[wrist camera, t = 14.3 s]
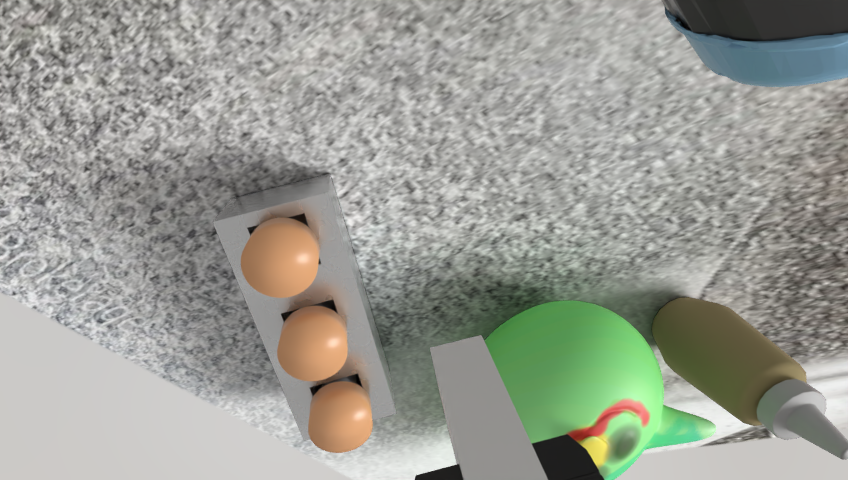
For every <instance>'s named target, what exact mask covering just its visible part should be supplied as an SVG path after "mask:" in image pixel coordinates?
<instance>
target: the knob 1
mask: <svg viewBox="0 0 848 480" xmlns="http://www.w3.org/2000/svg"><path fill="white" fill-rule="evenodd" d="M319 254H320V248H319V243H318V240H317V238H316V236H315V234H314V233H313V232H312V230H311V229H310V228H309V225H308V222H307V219H306V216H305V213H303V214H299V215H295V216H291V217H287V218H274V219H270V220H267V221H265V222H263V223H262V224H260V225H259V226H258V227H257V228H256V229H255V230H254V231H253V233H252V234H251V236H250V238H249V240H248V242H247V244H246V245H245V247H244V250H243V252H242V255H241V270H242V273H243V275H244V277H245V279H246V281H247V282H248V283H249V284H250V286H251V287H253V288H254V289H255V290H257V291H258V292H260V293H262V294H264V295H267V296H270V297H276V298H286V297H291V296H294V295H297V294H299V293H301V292H303V291H304V290H306V289H307V288H308V287H309V286H310V285H311V284H312V282H313V281H314V279H315V277H316V274H317V271H318V263H319Z"/></svg>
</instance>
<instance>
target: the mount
mask: <svg viewBox="0 0 848 480" xmlns="http://www.w3.org/2000/svg"><path fill="white" fill-rule="evenodd" d="M303 213H305V216H306V219H307V222H308V225H309V228H310V229H311V230H312V232H313V233H314V234H315V236H316V238H317V240H318V243H319V248H320V254H319V263H318V271H317V274H316V277H315V279H314V281H313V282H312V284H311V285H310V286H309V287H308V288H307V289H306V290H304V291H303V292H301V293H299V294H297V295H294V296H291V297H286V298H276V297H270V296H267V295H264V294H262V293H260V292H258V291H257V290H255V289H254V288H253V287H251V286H250V284H249V283H248V282H247V281H246V279H245V277H244V275H243V273H242V270H241V255H242V252H243V250H244V247H245V245H246V244H247V242H248V240H249V238H250V236H251V234H252V233H253V231H254V230H255V229H256V228H257V227H258V226H259V225H260V224H262V223H263V222H265V221H267V220H270V219H274V218H287V217H291V216H295V215H299V214H303ZM213 224H214V227H215V229H216V231H217V234H218V236H219V239H220V241H221V243H222V246H223V248H224V250H225V253H226V255H227V258H228V260H229V262H230V265H231V267H232V270H233V272H234V274H235V277H236V279H237V282H238V284H239V286H240V289H241V291H242V294H243V296H244V298H245V301H246V303H247V306H248V308H249V310H250V313H251V315H252V317H253V320H254V322H255V325H256V327H257V329H258V332H259V334H260V337H261V339H262V341H263V344H264V346H265V349H266V351H267V353H268V356H269V358H270V361H271V363H272V365H273V368H274V370H275V372H276V375H277V377H278V380H279V382H280V384H281V387H282V389H283V392H284V394H285V396H286V399H287V401H288V404H289V406H290V408H291V411H292V413H293V416H294V418H295V420H296V423H297V425H298V428H299V430H300V432H301V435H302V437H303V439H304V441H305V440H309V439H310V437H309V433H308V425H309V413H310V404H311V400H312V398H313V396H314V395H315V393H316V392H317V391H318V390H319V389H321V388H322V387H324V383H326V382H330V381H333V380H337V379H340V378H344V377H347V376H351V375H354V374H357V385H359V386H361V387H362V388H363V389H365V391H366V392H367V393H368V395H369V397H370V401H371V411H372V421H373V420H377V419H380V418H383V417H387V416H390V415H393V414H397V413H396V407H395V400H394V394H393V388H392V382H391V376H390V370H389V367H388V363H387V360H386V357H385V353H384V350H383V347H382V343H381V340H380V337H379V334H378V330H377V327H376V324H375V320H374V317H373V314H372V310H371V307H370V304H369V300H368V297H367V294H366V290H365V287H364V284H363V280H362V277H361V274H360V271H359V267H358V264H357V261H356V257H355V254H354V251H353V247H352V244H351V241H350V237H349V234H348V231H347V227H346V224H345V221H344V217H343V214H342V211H341V207H340V204H339V201H338V198H337V194H336V191H335V188H334V184H333V181H332V178H331V174H326V175H322V176H318V177H314V178H310V179H306V180H302V181H298V182H294V183H290V184H286V185H282V186H278V187H274V188H270V189H266V190H262V191H259V192H255V193H251V194H247V195H243V196H239V197H235V198H231V200H230V201H229V202H228V203H227V205H226V206H225V207H224V208H223V210H222V211H221V212H220V213H219V215H218V216H217V217H216V218H215V220H214V221H213ZM329 300H334V311H335V312H336V313H337V314H339V315H340V316H341V318H342V319H343V321H344V322H345V325H346V328H347V347H348V352H347V358H346V361H345V363H344V365H343V366H342V368H341V369H340V370H339V371H338V372H337V373H335V374H334V375H332V376H331V377H329V378H326V379H323V380H319V381H303V380H299V379H296V378H294V377H292V376H291V375H289V374H288V373H287V372H285V370H284V369H283V368H282V367H281V365H280V363H279V361H278V357H277V349H278V344H279V339H280V335H281V330H282V327H283V324H284V322H285V320H286V319H287V318H288V317H289V316H290V315H291V314H292V313H293V312H295V311H296V310H298V309H300V308H303V307H307V306H311V305H314V304H318V303H322V302H325V301H329Z"/></svg>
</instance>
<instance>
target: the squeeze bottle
mask: <svg viewBox="0 0 848 480" xmlns="http://www.w3.org/2000/svg"><path fill="white" fill-rule="evenodd" d="M652 333H653V337H654V340H655V342H656V344H657V346H658V348H659V350H660V352H661V354H662V356H663V359H664V361H665V363H666V364H667V365H668V366H669V367H670V368H671V369H672V370H673V371H674V372H675V373H677V374H678V375H679V376H681V377H682V378H683V379H685V380H686V381H687V382H689V383H690V384H692V385H693V386H694V387H696V388H697V389H698V390H700V391H701V392H702V393H704V394H705V395H706V396H708V397H709V398H710V399H712V400H713V401H715V402H716V403H717V404H719V405H720V406H721V407H723V408H724V409H725V410H727V411H728V412H729V413H731V414H732V415H733V416H735V417H736V418H738V419H739V420H740V421H742V422H743V423H746V424H749V425H753V426H757V425H764V426H765V427H766V428H767V429H768V430H769V431H771V432H772V433H773V434H774V435H775V436H776V437H778V438H781V439H785V440H789V439H796V438H799V437H802V438H804V439H806V440H808V441H810V442H811V443H813V444H815V445H817V446H819V447H820V448H822V449H824V450H826V451H828V452H830V453H831V454H833V455H835V456H837V457H839V458H840V459H848V440H847V439H846V438H845V437H844V436H843V435H842V434H841V433H840V432H839V431H838V429H837V428H836V427H835V426H834V425H833V424H832V423H831V422H830V421H829V420H828V419H827V418H826V417H825V416H824V414H825V411H826V399H825V398H824V396H823V395H822V394H821V393H820V392H819V391H817V390H816V389H814V388H813V387H811V386H810V385H808V384H807V382H806V372H805V371H804V369H803V368H802V367H801V365H800V364H799V363H797V362H796V361H795V360H794V359H792V358H791V357H790V356H789V355H787V354H786V353H785V352H784V351H783V350H781V349H780V348H779V347H778V346H776V345H775V344H774V343H773V342H771V341H770V340H769V339H768V338H766V337H765V336H764V335H763V334H761V333H760V332H759V331H758V330H756V329H755V328H754V327H753V326H751V325H750V324H749V323H748V322H746V321H745V320H744V319H743V318H741V317H740V316H739V315H738V314H736V313H735V312H734V311H733V310H731V309H730V308H728V307H726V306H723V305H720V304H718V303H713V302H708V301H704V300H699V299H695V298H690V297H684V298H677V299H675V300H673V301H670V302H668V303H667V304H666V305H665V306H664V307H662V308H661V309H660V310H659V312H658V313H657V315H656V316H655V318H654V320H653V325H652Z"/></svg>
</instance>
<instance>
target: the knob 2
mask: <svg viewBox="0 0 848 480" xmlns="http://www.w3.org/2000/svg"><path fill="white" fill-rule="evenodd" d="M372 427H373V423H372V411H371V401H370V397H369V395H368V393H367V392H366V391H365V389H363V388H362V387H361V386H359V385H357V374H354V375H351V376H347V377H344V378H340V379H337V380H333V381H330V382H326V383H324V387H322V388H321V389H319V390H318V391H317V392H316V393H315V395H314V396H313V398H312V400H311V404H310V413H309V425H308V433H309V437H310V439H311V440H312V442H313V443H314V444H315V445H316V446H317V447H319V448H321V449H322V450H325V451H328V452H334V453H342V452H347V451H351V450H353V449H356V448H358V447H359V446H361V445H362V444H363V443H364V442H365V441H366V440H367V439H368V438H369V436H370V434H371V432H372Z"/></svg>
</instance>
